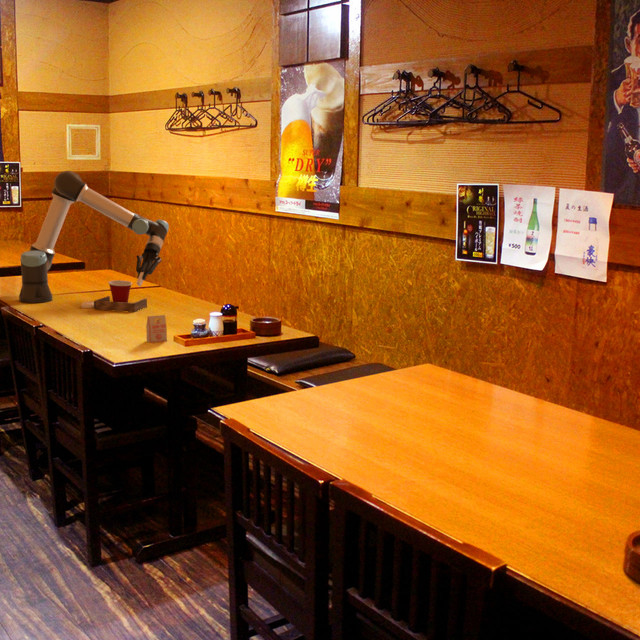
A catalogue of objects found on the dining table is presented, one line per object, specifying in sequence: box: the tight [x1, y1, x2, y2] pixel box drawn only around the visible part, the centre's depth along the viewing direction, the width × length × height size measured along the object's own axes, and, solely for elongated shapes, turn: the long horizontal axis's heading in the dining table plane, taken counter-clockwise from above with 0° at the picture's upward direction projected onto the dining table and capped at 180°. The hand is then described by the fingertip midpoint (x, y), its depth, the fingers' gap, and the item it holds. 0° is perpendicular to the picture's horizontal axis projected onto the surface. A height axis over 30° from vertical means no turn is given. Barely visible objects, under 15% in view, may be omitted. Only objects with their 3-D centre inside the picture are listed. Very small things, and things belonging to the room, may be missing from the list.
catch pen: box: [93, 295, 148, 313], centre depth 352 cm, size 20×13×4 cm, turn 77°
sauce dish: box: [80, 301, 94, 309], centre depth 354 cm, size 8×8×2 cm
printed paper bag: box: [145, 314, 168, 344], centre depth 291 cm, size 4×7×10 cm, turn 120°
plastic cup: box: [107, 279, 133, 303], centre depth 354 cm, size 11×11×12 cm
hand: (138, 284), depth 369 cm, fingers closed
